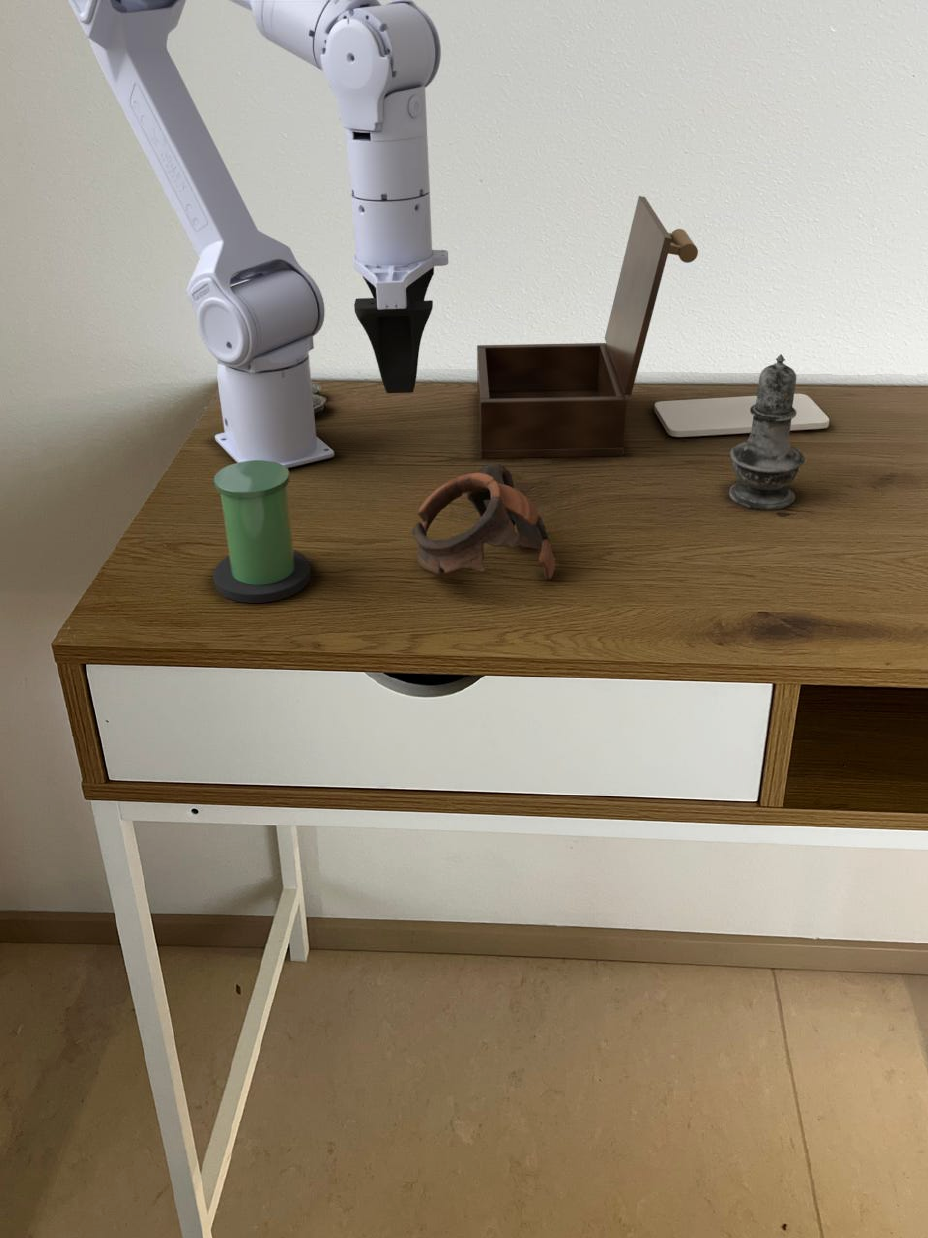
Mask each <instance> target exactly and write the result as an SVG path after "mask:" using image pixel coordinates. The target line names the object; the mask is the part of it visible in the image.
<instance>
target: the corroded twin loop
mask: <svg viewBox="0 0 928 1238" xmlns="http://www.w3.org/2000/svg"><path fill="white" fill-rule="evenodd" d="M311 384H312V395H313V406H314V415H315V414H316V413H320V412H322V411H323V410H324V405H325V403H326V401H327V398H326V396H322V395H320V391H322V385H320V384H317V383H315V382H311Z"/></svg>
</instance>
